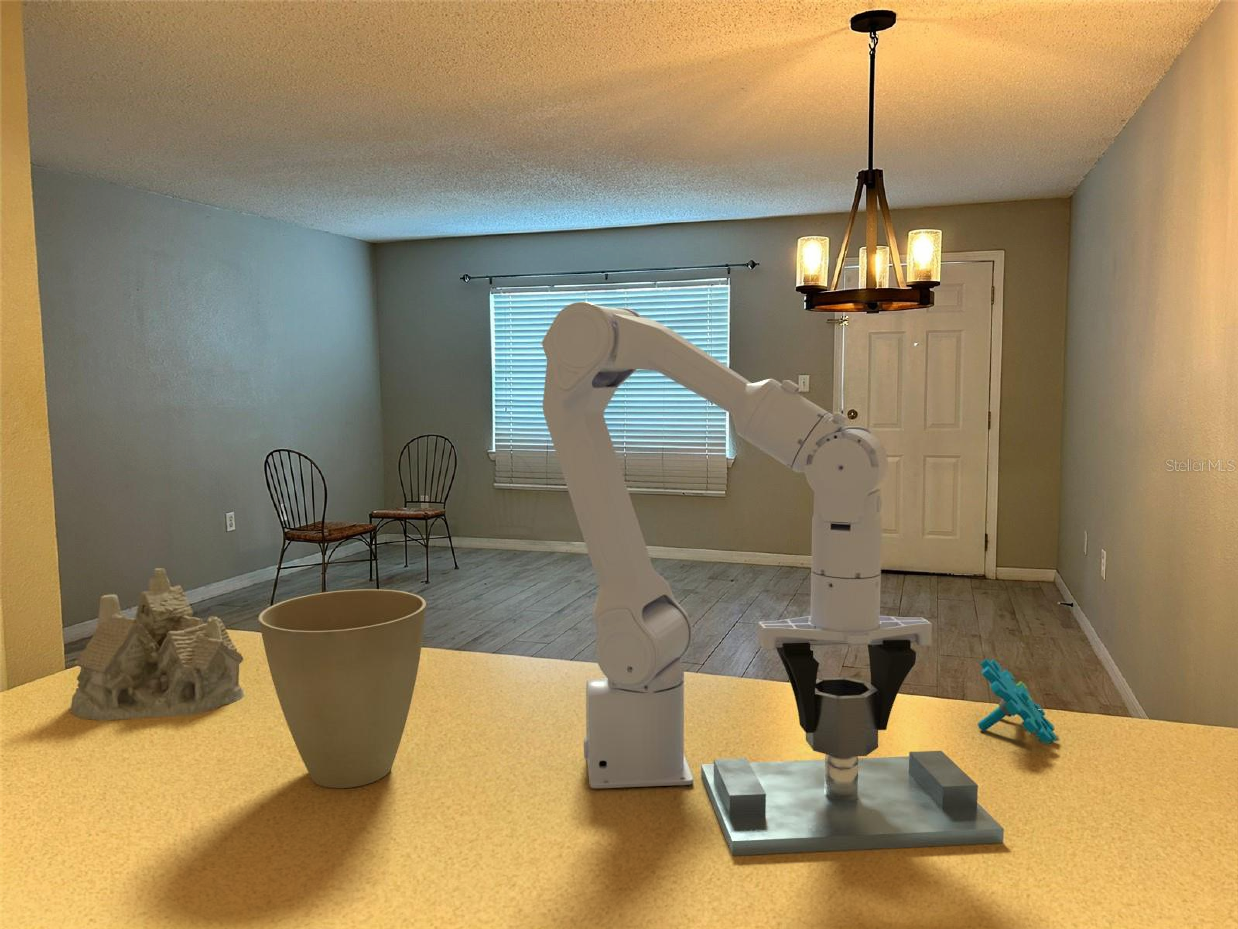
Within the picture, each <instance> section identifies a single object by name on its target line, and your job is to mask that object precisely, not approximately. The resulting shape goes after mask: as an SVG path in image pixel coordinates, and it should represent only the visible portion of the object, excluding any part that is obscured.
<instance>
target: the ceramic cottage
mask: <svg viewBox="0 0 1238 929" xmlns="http://www.w3.org/2000/svg"><path fill="white" fill-rule="evenodd" d="M153 572H154V576H153V577H152V578H150V579H149V582H148V588H149V589H148V590H145V591H141V596H140V599H139V601H138V604H137V609H136V613H135V616H134V618H133V617H126V616H123V615H122V610H121V606H120V601H119V600H120V599H119V597H118V595H117V594H105V595H102V596H101V597H100V601H99V602H100V603H99V609H98V617H97V626H96V631H95V632H94V633H93V636H92V637H91V639H90V641H89V642H88V643H86V646H85V649H83V651H82V652H81V653H80V656H79V657H78V658H77V659H76V660H74V662H73V664H75V665H76V666H77V667H80V672H79V674H78V675H77V677H76V680H77V682H78V683H77V688H75V692H74V693H73V695H72V697H71V703H70V705H71V706H70V714H71V715H73V716H75V717H77V718H80V719H85V720H90V719H91V720H94V721H100V722H103V721H104V722H105V721H113V720H114V721H117V720H121V719H122V720H136V719H148V718H153V717H154V718H158V717H159V718H161V717H162V718H167V717H177V716H178V717H182V716H184V717H185V716H191V715H198V714H199V715H200V714H203V713H206V712H209V711H214V710H216V709H217V708H220V706H225V705H230V704H232V703H236V702H237V701H240V700H241V699H243V698H244V697H245V693H244V688H243V687H242V686H241V685H240V683H239V680H240V679H239V677H240V665H241V664H242V662H244V656H243V655H242V653H240V651H237V650H238V649H237V647H236V646H235V644H234V643H233V641H232V639H231V637H230V635H229V633H228V631H227V629H226V627H225V624H224V623H223V621H222V620H221V618H220V617H219V618H218V616H209V617H208V618H207V620H206V623H204V621H203V619H202V618H199V617H193V614H194V611H193V609H192V608H191V605H190V602H189V600H188V599H187V596H186V594H185V592H184V590H183V587H182V586H181V585H180V584H179V585H175V586H171V584H170V580H169V578H168V575H167V574H166V573H167V572H166V569H165V568H163V567H162V568H159V567H157V568H154V571H153Z"/></svg>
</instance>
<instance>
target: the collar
mask: <svg viewBox="0 0 1238 929" xmlns="http://www.w3.org/2000/svg"><path fill="white" fill-rule="evenodd" d="M805 742H806V743H807V744H808V745H809V746H810V748H811V749H812V751H813V752H817V753H820V754H824V755H826V754H827V755H831V756H835V757H867V756H868V755H870V754H871V753H872V752H874V751H875V750H877V749H879V730H878V690H877V689H876V688H875V687H874V686H873V685H871V682H869V681H866V680H865V681H864V680H861V679H855V678H852V677H851V678H850V677H845V676H839V677H835V676H834V677H817V679H816V687H815V729H814V733H806V732H805Z"/></svg>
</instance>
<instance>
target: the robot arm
mask: <svg viewBox="0 0 1238 929" xmlns="http://www.w3.org/2000/svg"><path fill="white" fill-rule="evenodd" d="M541 345H542V349H543V352H544V354H545V358H546V367H545V368H546V369H545V376H544V389H543V398H542V411H543V416H544V419H545V422H546V426H547V428H548V432H549V434H550V438H551V441H552V443H553V447H554V450H555V454H556V456H557V459H558V463H559V466H560V469H561V472H562V475H563V478H564V481H565V484H566V487H567V491H568V493H569V497H570V500H571V502H572V506H573V510H574V512H575V515H576V518H577V519H576V520H577V522H578V526H579V528H580V531H581V534H582V538H583V541H584V544H585V547H586V551H587V553H588V555H589V559H590V563H591V564H592V570H593V572H594V575H595V577H596V578H595V579H596V580H597V584H598V587H599V589H598V593H597V596H596V601H595V604H594V608H593V612H592V619H593V622H594V625H595V630H596V642H595V657H596V658H595V659H596V661H597V664H598V667H599V668H600V670H601V672H602V674H603V675H604V677H602V678H595V679H589V680H586V684H585V687H586V688H585V689H586V691H585V701H586V702H585V706H586V707H585V710H586V712H585V713H586V714H585V717H586V718H585V721H586V722H585V723H586V725H585V726H586V727H585V728H586V730H585V731H586V732H585V733H586V735H585V736H586V738H584V739H583V758H584V759H586V764H587V773H588V774H587V775H588V782H589V787H590V788H592V789H614V788H615V789H617V788H639V787H641V788H642V787H643V788H644V787H664V786H669V787H670V786H687V785H692V784H694V776H693V774H692V771H691V769H690V766H689V763H688V761H687V758H686V755H685V753H684V752H685V750H684V749H685V748H684V746H685V743H684V740H685V738H684V737H685V736H684V735H685V728H684V727H685V724H684V723H685V672H684V669H683V666H682V657H683V656H684V655H685V654H686V653H687V652H688V651H689V650H690V648H691V645H692V642H693V637H694V629H693V624H692V621H691V618H690V617H689V614H688V613H687V611H686V610H685V608H683V607H682V605H680V604H679V603H678V601H677V600H676V598H675V596H674V593H673V591H672V589H671V586H670V584H669V582H668V581H667V580H666V579H664V577H663V576H662V575H660V574H659V573H658V572H657V571H656V570H655V569H654V567H653V563H652V561H651V557H650V555H649V551H648V548H647V545H646V542H645V539H644V536H643V533H642V530H641V527H640V524H639V520H638V517H637V514H636V512H635V509H634V505H633V502H632V499H631V496H630V492H629V490H628V486H627V484H626V480H625V478H624V477H625V476H624V473H623V471H622V468H621V466H620V463H619V458H618V456H617V452H616V449H615V447H614V444H613V440H612V437H611V433H610V431H609V429H608V428H609V427H608V425H607V422H606V419H605V416H604V415H605V411H606V409H607V407H608V405H609V404H610V401H611V400H612V398H613V396H614V395H615V393H616V392H617V390H618V388H619V387H620V386H621V385H622V384H623V383H625V382H626V380H628V378H629V377H631V376H632V374H634V373H635V372H636V371H637V370H638V371H639V370H640V371H654V372H658V373H660V374H661V375H663V376H665V377H667V378H668V379H670V380H672V381H673V382H675V383H677V384H678V385H680V386H682V387H683V388H686V389H687V390H689V391H691V392H693V393H694V394H696V395H698V396H700V397H701V398H703V399H705V400H706V401H708V402H710V403H711V404H714V405H715V406H717V407H719V408H721V409H722V410H724V411H726V412H727V413H729V414H730V416H731V419H732V421H733V424H734V428H735V433H736V435H737V436H739V437H741V438H742V439H743V440H745V441H746V442H748V443H750V444H751V445H753V446H755V447H756V448H758V449H759V450H761V451H763V452H764V453H766V455H769V456H770V457H772V458H774V459H775V460H777V461H778V462H780V463H781V464H783V465H784V466H786V467H788V468H789V469H791V470H792V471H794V472H795V473H798V474H799V473H800V474H801V473H804V476H805V478H806V482H807V483H808V485H809V488H810V489H811V490H812V492H813V516H812V517H811V518H812V520H811V571H810V572H811V574H810V615H808V616H807V615H806V616H800V617H793V618H787V619H785V618H784V619H780V620H779V619H778V620H770V621H767V620H766V621H758V624H757V627H758V628H757V644H758V645H759V646H760V648H761V649H762V650H763V651H774V650H776V652H777V654H778V656H779V657H780V658H779V659H780V660H781V662H782V664H783V667H784V669H785V671H786V675H787V677H788V680H789V683H790V685H791V688H792V692H793V695H794V698H795V704H796V708H797V714H798V715H797V716H798V719H799V720H798V721H799V726H800V727H801V729H802V730H803V731H804V733H805V734H806V733H814V729H815V687H816V679H818V672H819V666H820V663H819V661H818V660H817V659H816V658H815V657H814V650H811V647H831V646H832V647H833V646H866V645H867V648H868V660H869V672H870V684H871V685H873V686H874V687H875V688H876V689H877V690H878V731H886V730H887V728H888V724H889V719H890V715H891V712H892V710H893V706H894V703H895V701H896V698H897V695H898V693H899V691H900V689H901V687H902V685H903V683H904V682H905V680H906V678H907V676H908V675H909V673H910V671H911V670H912V669H913V668H914V666H915V664H916V660H917V652H916V651H915V650H914V649H913V648H911V647H912V644H917V645H918V646H921V647H922V646H932V634H933V633H932V629H933V624H932V622H930V621H928V619H925V618H924V617H923V616H921V617H917V616H915V617H909V616H908V617H907V616H906V617H905V616H904V617H903V616H892V615H891V616H887V615H881V586H882V585H881V582H882V581H881V580H882V577H881V576H882V547H883V546H882V543H883V541H882V540H883V535H882V534H883V519H882V517H881V509H882V507H883V506H882V504H883V503H882V496H881V493H882V490H881V488H876V487H878V486H879V484H880V483H882V481H883V479H884V477H885V476H886V473H887V470H888V463H889V462H888V455H887V450H886V449H885V446H884V445H883V443H882V442H881V440H879V438H878V437H877V436H875V435H874V434H872V433H871V431H870V429H869V428H867V427H863V426H858V425H851V426H850V425H849V426H845V425H846V422H847V421H848V416H846V415H845V414H843V413H842V412H840V411H835V412H834V413H831V412H828V411H827V410H825V409H824V408H822V407H821V406H818V405H817V404H816V403H813V402H812V401H810V400H809V399H807V398H805V397H804V396H802V395H801V394H799V393H798V392H799V390H801V386H800V385H799V384H797V383H795V382H793V381H792V380H789V379H786V380H785V379H784V380H782V383H781V382H779V381H778V380H776V379H775V378H767V379H764V380H760V381H758V382H757V381H756V382H753V383H752V381H750V380H748V379H746V378H745V377H744V376H742V375H740V374H739V373H738V372H736V371H734V370H733V369H731V368H730V367H729V366H727V365H725V364H724V363H722V362H721V361H720V360H718V359H716V358H714V357H713V356H712V355H711V354H709V353H707V352H706V351H704V350H703V349H701V348H700V347H699V346H697V345H695V344H694V343H692V342H691V341H689V340H688V339H687V338H685V337H684V336H682V335H680V334H678V333H677V332H676V331H674V330H673V329H671V328H669V327H667V326H666V325H664V324H662V323H661V322H658V321H655V320H653V319H650V318H648V317H643V316H642V315H641V314H639V313H638V312H637V311H635V310H633V309H630V308H626V307H609V306H603V305H596V304H595V303H592V302H589V301H577V302H573V303H570V304H568V305H566V306H565V307H563V308H562V309H561V310H560V311H559V312H558V313H557V315H556V316H555V318H554V319H553V321H552V323H551V325H550V327H549V328H548V330H547V332H546V334H545V336H544V337H543V339H542V340H541Z"/></svg>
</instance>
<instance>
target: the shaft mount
mask: <svg viewBox="0 0 1238 929" xmlns="http://www.w3.org/2000/svg"><path fill="white" fill-rule="evenodd" d="M908 754H909V756H908V755H907V756H906V755H905V756H886V757H885V756H884V757H880V756H879V757H859V756H858V757H859V758H858V757H835V756H831V755H827V754H825V755H824V759H807V760H806V759H805V760H804V759H803V760H784V761H783V760H780V761H778V760H777V761H756V762H754V761H753V762H752V761H751V762H750V761H749V759H748V758H747V757H742V758H739V757H738V758H737V757H736V758H715V759H713V763H706V764H705V763H702V764H700V765H701V766H700V767H701V770H700V771H701V772H700V774H701V776H700V777H701V779H702V780H701V781H702V782H703V786H704V787H705V790H706V793H707V794H708V798H709V801H710V803H711V804H712V807H713V808H712V809H713V811H714V812H715V816H716V818H717V820H718V824H719V826H720V828H721V831H722V833H723V836H724V839H725V840H726V841H725V842H726V844H727V846H728V849H729V851H730V854H731V855H732V856H753V855H775V854H777V855H778V854H795V853H799V854H800V853H815V852H817V853H819V852H821V853H822V852H835V851H836V852H839V851H840V852H841V851H861V850H862V851H863V850H879V849H882V850H883V849H885V850H886V849H900V848H904V849H905V848H923V847H946V846H963V845H964V846H966V845H988V844H991V845H992V844H1003V843H1004V832H1005V830H1004V827H1003V826H1002V825H1001V824H1000V823H999V822H998V821H997V820H996V819H995V818H994V817H993V816H992V815H991V814H989V812H988V811H987V810H986V809H985V808H983V806H981V804H979V802H978V792H979V785H978V783H976V782H975V781H974V780H973V779H972V778H971V777H970V776H969V775H968V774H966V772H965V771H964V770H963V769H962V768H961V767H960V766H958V765H957V764H956V763H955V762H954V761H953V760H952V759H951V758H950V757H949V756H948V755H947V754H945V752H944V751H942V750H925V751H909V753H908Z"/></svg>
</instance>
